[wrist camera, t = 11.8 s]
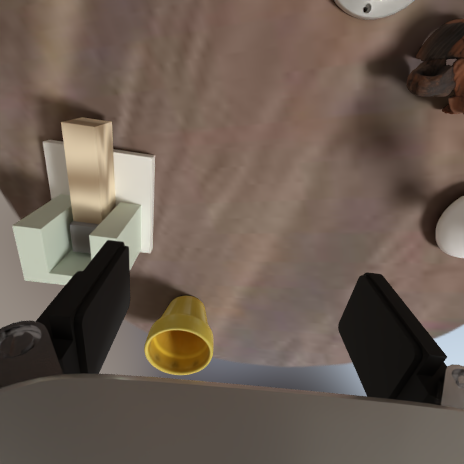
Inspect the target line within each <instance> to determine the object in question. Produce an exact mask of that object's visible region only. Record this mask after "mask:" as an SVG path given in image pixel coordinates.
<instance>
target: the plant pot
mask: <svg viewBox="0 0 464 464" xmlns="http://www.w3.org/2000/svg"><path fill="white" fill-rule="evenodd" d="M144 350H145V355H146V358H147V359H148V361H149V362H150V363H151V364H152V365H153V366H154V367H155V368H157V369H159V370H160V371H163V372H165V373H169V374H174V375H188V374H193V373H196V372H198V371H200V370H202V369H203V368H205V367H206V366H207V365H208V364H209V362H210V361H211V358H212V355H213V334H212V331H211V329H210V327H209V326H208V323H207V318H206V312H205V307H204V305H203V303H202V302H201V301H200V300H199V299H197V298H195V297H193V296H180V297H177V298H175V299H174V300H172V301H171V303H170V304H169V306H168V307H167V309H166V310H165V312H164V313H163V315H162V317H161V318H160V319H158V320H157V321H156V322H155V323H154V324H153V325H152V327H151V329H150V332H149V334H148V337H147V340H146V343H145V348H144Z"/></svg>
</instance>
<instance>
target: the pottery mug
mask: <svg viewBox="0 0 464 464" xmlns="http://www.w3.org/2000/svg"><path fill="white" fill-rule="evenodd" d="M416 58H417V59H421V61H424V62H422V63H421V64H420V65H419V66H418V67H417V68H416V69H414V70H413V71H412V72H411V74H410V75H409V76H408V79H407V87H408V90H409V91H410V92H411V93H413V94H415V95H418V96H425V97H426V96H434V97H445V96H447V95H449V94H450V93H451V92H452V90H453V89H454V91H455V95H453V96H450V97H449V98H448V101H449V105H448V106H446V107H445V108H444V109H442V111H443V112H445V113H449V114H460V113H463V114H464V19H455V20H452V21H449V22H448V23H446V24H444V25H442V26H441V27H440V28H439V29H437V30H436V31H435V32H434V33H433V34H432V35H431V36H430V37H429V38H428V39H427V40H426V41H425V42H424V44H423V46H422V47H421V49H420V50H419V52H418V54H417V56H416ZM447 59H457V60H456V61H455V62H454V63H453V65H452V66H450V65H446V60H447Z"/></svg>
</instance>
